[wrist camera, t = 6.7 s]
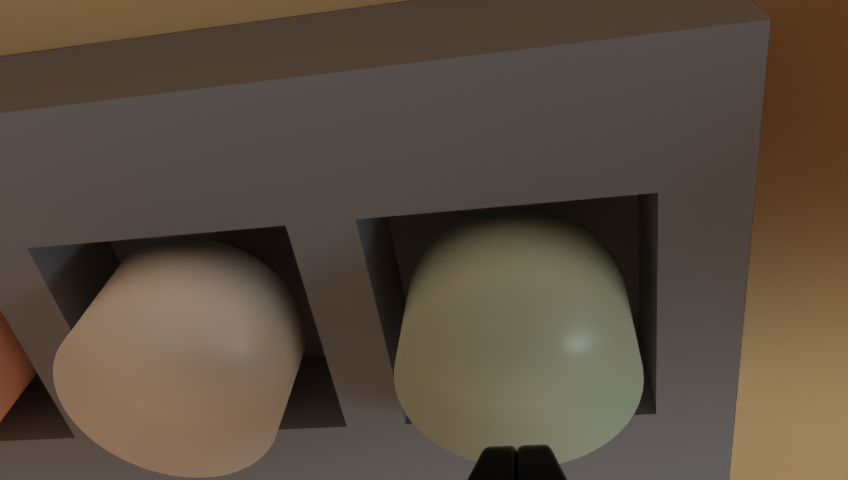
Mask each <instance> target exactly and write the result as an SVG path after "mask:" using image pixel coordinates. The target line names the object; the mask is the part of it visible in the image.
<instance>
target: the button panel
mask: <svg viewBox="0 0 848 480" xmlns="http://www.w3.org/2000/svg"><path fill="white" fill-rule="evenodd" d="M770 23H771V19H770V18H769V17H768V16H767V15H766V14H765V13H764V12H763V11H762V9H761V8H760V7H759V6H758V5H757V4H756V3H755V2H754V1H753V0H414V1H406V2H399V3H391V4H384V5H377V6H369V7H362V8H354V9H347V10H340V11H332V12H325V13H318V14H310V15H303V16H295V17H288V18H281V19H273V20H266V21H259V22H251V23H244V24H236V25H229V26H222V27H214V28H207V29H200V30H192V31H185V32H177V33H170V34H163V35H155V36H148V37H141V38H133V39H126V40H118V41H111V42H104V43H96V44H89V45H82V46H74V47H67V48H59V49H52V50H45V51H37V52H30V53H23V54H15V55H8V56H0V310H1V312H2V314H3V315H4V317H5V319H6V321H7V322H8V324H9V326H10V327H11V329H12V331H13V332H14V334H15V336H16V338H17V339H18V341H19V343H20V344H21V346H22V348H23V349H24V351H25V353H26V355H27V356H28V358H29V360H30V361H31V363H32V365H33V367H34V368H35V370H36V372H37V373H36V375H35V376H34V378H33V379H32V380H31V382H30V383H29V384H28V386H27V387H26V388H25V390H24V391H23V392H22V394H21V395H20V396H19V398H18V399H17V400H16V402H15V403H14V404H13V406H12V407H11V408H10V410H9V411H8V412H7V414H6V415H5V416H4V418H3V419H2V420H1V422H0V480H467V479H468V477H469V475H470V473H471V471H472V469H473V468H474V466H475V464H476V461H472V460H469V459H466V458H463V457H461V456H458V455H456V454H454V453H452V452H450V451H448V450H446V449H444V448H442V447H440V446H439V445H437V444H436V443H434V442H433V441H431V440H430V439H429V438H427V437H426V436H425V435H424V434H423V433H421V432H420V431H419V430H418V429H417V427H416V426H415V425H414V424H413V423H412V422H411V421H410V419H409V418H408V416H407V415H406V414H405V412H404V410H403V408H402V406H401V404H400V403H399V400H398V397H397V394H396V390H395V384H394V366H395V360H396V355H397V349H398V344H399V338H400V333H401V327H402V322H403V316H404V311H405V305H406V300H407V294H408V289H409V284H410V279H411V274H412V271H413V269H414V266H415V263H416V262H417V260H418V258H419V256H420V255H421V253H422V252H423V251H424V249H425V248H426V247H427V245H428V244H429V243H430V242H431V241H432V240H433V239H434V238H435V237H436V236H438V235H439V234H440V233H441V232H443V231H444V230H446V229H447V228H448V227H450V226H452V225H454V224H455V223H457V222H459V221H461V220H463V219H466V218H468V217H471V216H473V215H476V214H480V213H484V212H488V211H493V210H500V209H515V208H522V209H534V210H540V211H545V212H550V213H553V214H556V215H560V216H563V217H565V218H568V219H570V220H572V221H574V222H576V223H578V224H580V225H582V226H583V227H585V228H586V229H588V230H590V231H591V232H592V233H593V234H595V235H596V236H597V237H598V238H599V239H601V240H602V242H603V243H604V244H605V245H606V246H607V247H608V248H609V249H610V251H611V252H612V254H613V255H614V257H615V258H616V260H617V262H618V264H619V266H620V268H621V271H622V274H623V278H624V282H625V286H626V291H627V296H628V300H629V305H630V310H631V314H632V319H633V324H634V328H635V333H636V338H637V342H638V347H639V352H640V356H641V361H642V366H643V375H644V383H643V392H642V396H641V399H640V403H639V405H638V407H637V409H636V411H635V413H634V415H633V416H632V418H631V419H630V421H629V422H628V424H627V425H626V426H625V427H624V428H623V429H622V430H621V431H620V432H619V434H617V435H616V436H615V437H614V438H613V439H611V440H610V441H609V442H608V443H606V444H604V445H603V446H601V447H600V448H598V449H597V450H595V451H592V452H590V453H588V454H586V455H584V456H582V457H579V458H576V459H574V460H571V461H567V462H563V463H560V466H561V468H562V470H563V472H564V474H565V476H566V478H567V480H729V478H730V467H731V456H732V445H733V433H734V422H735V411H736V400H737V389H738V378H739V367H740V356H741V345H742V334H743V323H744V311H745V300H746V289H747V278H748V267H749V256H750V245H751V234H752V223H753V212H754V201H755V189H756V178H757V167H758V156H759V145H760V134H761V123H762V112H763V101H764V90H765V78H766V67H767V56H768V45H769V34H770ZM178 237H192V238H203V239H208V240H213V241H218V242H221V243H224V244H228V245H231V246H233V247H235V248H238V249H240V250H243V251H245V252H246V253H248V254H250V255H252V256H254V257H256V258H257V259H259V260H260V261H262V262H263V263H265V264H266V265H268V266H269V267H270V268H271V269H272V270H273V271H275V272H276V273H277V274H278V275H279V276H280V277H281V278H282V279H283V280H284V281H285V282H286V283H287V285H288V286H289V287H290V289H291V290H292V291H293V293H294V294H295V296H296V298H297V299H298V301H299V303H300V305H301V307H302V310H303V312H304V315H305V320H306V324H307V343H306V347H305V351H304V354H303V357H302V360H301V363H300V366H299V369H298V372H297V375H296V378H295V381H294V384H293V387H292V390H291V393H290V396H289V399H288V402H287V405H286V408H285V411H284V414H283V417H282V420H281V423H280V426H279V429H278V432H277V435H276V438H275V440H274V442H273V444H272V446H271V447H270V448H269V450H268V451H267V452H266V453H265V455H263V456H262V457H261V458H260V459H259V460H258V461H256V462H255V463H253V464H252V465H250V466H249V467H246V468H244V469H242V470H240V471H237V472H234V473H231V474H227V475H222V476H217V477H206V478H188V477H179V476H172V475H167V474H162V473H158V472H154V471H151V470H147V469H145V468H142V467H139V466H136V465H134V464H132V463H129V462H127V461H125V460H123V459H121V458H119V457H117V456H115V455H114V454H112V453H110V452H108V451H107V450H105V449H104V448H102V447H101V446H99V445H98V444H97V443H95V442H94V441H93V440H92V439H90V438H89V437H88V436H87V435H86V434H85V433H84V432H83V431H82V430H81V429H80V428H78V426H77V425H76V424H75V423H74V422H73V420H72V419H71V418H70V417H69V415H68V414H67V412H66V411H65V409H64V408H63V406H62V404H61V402H60V400H59V398H58V395H57V392H56V389H55V386H54V380H53V364H54V359H55V355H56V353H57V351H58V349H59V347H60V345H61V344H62V342H63V341H64V340H65V338H66V337H67V336H68V334H69V333H70V331H71V330H72V329H73V327H74V326H75V325H76V323H77V322H78V321H79V319H80V318H81V317H82V315H83V314H84V313H85V311H86V310H87V309H88V307H89V306H90V305H91V303H92V302H93V300H94V299H95V298H96V296H97V295H98V294H99V292H100V291H101V290H102V288H103V287H104V286H105V284H106V283H107V282H108V280H109V279H110V278H111V276H112V275H113V273H114V272H115V271H116V269H117V268H118V267H119V265H120V264H121V263H122V261H123V260H124V259H125V258H127V257H128V256H129V255H130V254H131V253H132V252H134V251H135V250H137V249H139V248H140V247H142V246H145V245H147V244H149V243H152V242H155V241H159V240H162V239H169V238H178Z"/></svg>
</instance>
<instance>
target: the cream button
mask: <svg viewBox="0 0 848 480" xmlns="http://www.w3.org/2000/svg"><path fill="white" fill-rule="evenodd" d="M306 343H307V324H306V320H305V315H304V312H303V310H302V307H301V305H300V303H299V301H298V299H297V298H296V296H295V294H294V293H293V291H292V290H291V289H290V287H289V286H288V285H287V283H286V282H285V281H284V280H283V279H282V278H281V277H280V276H279V275H278V274H277V273H276V272H275V271H273V270H272V269H271V268H270V267H269V266H268V265H266V264H265V263H263V262H262V261H260V260H259V259H257V258H256V257H254V256H252V255H250V254H248V253H246V252H245V251H243V250H240V249H238V248H235V247H233V246H231V245H228V244H224V243H221V242H218V241H213V240H208V239H203V238H192V237H178V238H169V239H162V240H159V241H155V242H152V243H149V244H147V245H145V246H142V247H140V248H139V249H137V250H135V251H134V252H132V253H131V254H130V255H129V256H128V257H127V258H125V259H124V260H123V261H122V263H121V264H120V265H119V267H118V268H117V269H116V271H115V272H114V273H113V275H112V276H111V278H110V279H109V280H108V282H107V283H106V284H105V286H104V287H103V288H102V290H101V291H100V292H99V294H98V295H97V296H96V298H95V299H94V300H93V302H92V303H91V305H90V306H89V307H88V309H87V310H86V311H85V313H84V314H83V315H82V317H81V318H80V319H79V321H78V322H77V323H76V325H75V326H74V327H73V329H72V330H71V331H70V333H69V334H68V336H67V337H66V338H65V340H64V341H63V342H62V344H61V345H60V347H59V349H58V351H57V353H56V355H55V359H54V364H53V380H54V386H55V389H56V392H57V395H58V398H59V400H60V402H61V404H62V406H63V408H64V409H65V411H66V412H67V414H68V415H69V417H70V418H71V419H72V420H73V422H74V423H75V424H76V425H77V426H78V428H80V429H81V430H82V431H83V432H84V433H85V434H86V435H87V436H88V437H89V438H90V439H92V440H93V441H94V442H95V443H97V444H98V445H99V446H101V447H102V448H104V449H105V450H107V451H108V452H110V453H112V454H114V455H115V456H117V457H119V458H121V459H123V460H125V461H127V462H129V463H132V464H134V465H136V466H139V467H142V468H145V469H147V470H151V471H154V472H158V473H162V474H167V475H172V476H179V477H188V478H206V477H217V476H222V475H227V474H231V473H234V472H237V471H240V470H242V469H244V468H246V467H249V466H250V465H252V464H253V463H255V462H256V461H258V460H259V459H260V458H261V457H262V456H263V455H265V453H266V452H267V451H268V450H269V448H270V447H271V446H272V444H273V442H274V440H275V438H276V435H277V432H278V429H279V426H280V423H281V420H282V417H283V414H284V411H285V408H286V405H287V402H288V399H289V396H290V393H291V390H292V387H293V384H294V381H295V378H296V375H297V372H298V369H299V366H300V363H301V360H302V357H303V354H304V351H305V347H306Z"/></svg>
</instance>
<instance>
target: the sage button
mask: <svg viewBox="0 0 848 480" xmlns="http://www.w3.org/2000/svg"><path fill="white" fill-rule="evenodd" d="M643 383H644V375H643V366H642V361H641V356H640V352H639V347H638V342H637V338H636V333H635V328H634V324H633V319H632V314H631V310H630V305H629V300H628V296H627V291H626V286H625V282H624V278H623V274H622V271H621V268H620V266H619V264H618V262H617V260H616V258H615V257H614V255H613V254H612V252H611V251H610V249H609V248H608V247H607V246H606V245H605V244H604V243H603V242H602V240H601V239H599V238H598V237H597V236H596V235H595V234H593V233H592V232H591V231H590V230H588V229H586V228H585V227H583V226H582V225H580V224H578V223H576V222H574V221H572V220H570V219H568V218H565V217H563V216H560V215H556V214H553V213H550V212H545V211H540V210H534V209H522V208H515V209H500V210H493V211H488V212H484V213H480V214H476V215H473V216H471V217H468V218H466V219H463V220H461V221H459V222H457V223H455V224H454V225H452V226H450V227H448V228H447V229H446V230H444V231H443V232H441V233H440V234H439V235H438V236H436V237H435V238H434V239H433V240H432V241H431V242H430V243H429V244H428V245H427V247H426V248H425V249H424V251H423V252H422V253H421V255H420V256H419V258H418V260H417V262H416V263H415V266H414V269H413V271H412V274H411V279H410V284H409V289H408V294H407V300H406V305H405V311H404V316H403V322H402V327H401V333H400V338H399V344H398V349H397V355H396V360H395V366H394V384H395V390H396V394H397V397H398V400H399V403H400V404H401V406H402V408H403V410H404V412H405V414H406V415H407V416H408V418H409V419H410V421H411V422H412V423H413V424H414V425H415V426H416V427H417V429H418V430H419V431H420V432H421V433H423V434H424V435H425V436H426V437H427V438H429V439H430V440H431V441H433V442H434V443H436V444H437V445H439V446H440V447H442V448H444V449H446V450H448V451H450V452H452V453H454V454H456V455H458V456H461V457H463V458H466V459H469V460H472V461H476V462H477V460H478V458H479V456H480V454H481V452H482V451H483V450H484V449H485V448H486V447H489V446H513V447H515V448H516V450H517V449H518V447H520V446H522V445H542V444H544V445H548V446H549V447H550V448H551V449H552V451H553V453H554V455H555V457H556V459H557V461H558V463H559V464H560V463H563V462H567V461H571V460H574V459H576V458H579V457H582V456H584V455H586V454H588V453H590V452H592V451H595V450H597V449H598V448H600V447H601V446H603V445H604V444H606V443H608V442H609V441H610V440H611V439H613V438H614V437H615V436H616V435H617V434H619V432H620V431H621V430H622V429H623V428H624V427H625V426H626V425H627V424H628V422H629V421H630V419H631V418H632V416H633V415H634V413H635V411H636V409H637V407H638V405H639V403H640V399H641V396H642V392H643Z"/></svg>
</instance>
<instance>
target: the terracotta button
mask: <svg viewBox="0 0 848 480" xmlns="http://www.w3.org/2000/svg"><path fill="white" fill-rule="evenodd" d="M36 373H37V372H36V370H35V368H34V367H33V365H32V363H31V361H30V360H29V358H28V356H27V355H26V353H25V351H24V349H23V348H22V346H21V344H20V343H19V341H18V339H17V338H16V336H15V334H14V332H13V331H12V329H11V327H10V326H9V324H8V322H7V321H6V319H5V317H4V315H3V314H2V312H1V310H0V422H1V420H2V419H3V418H4V416H5V415H6V414H7V412H8V411H9V410H10V408H11V407H12V406H13V404H14V403H15V402H16V400H17V399H18V398H19V396H20V395H21V394H22V392H23V391H24V390H25V388H26V387H27V386H28V384H29V383H30V382H31V380H32V379H33V378H34V376H35V375H36Z"/></svg>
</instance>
